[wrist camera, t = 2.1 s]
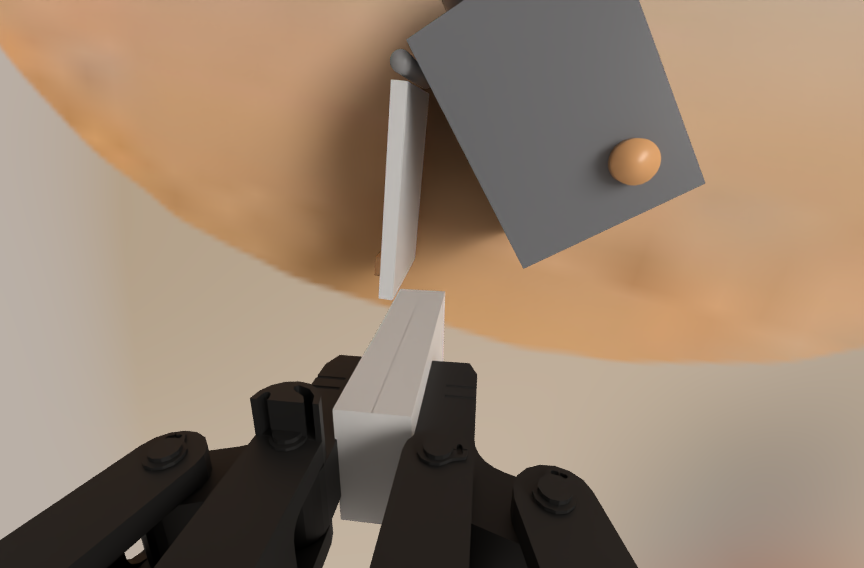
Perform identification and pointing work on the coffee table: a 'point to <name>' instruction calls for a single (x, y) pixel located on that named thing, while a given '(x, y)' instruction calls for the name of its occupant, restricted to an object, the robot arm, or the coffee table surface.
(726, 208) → the coffee table surface
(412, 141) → the side door
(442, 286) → the coffee table surface
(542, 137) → the camera body
